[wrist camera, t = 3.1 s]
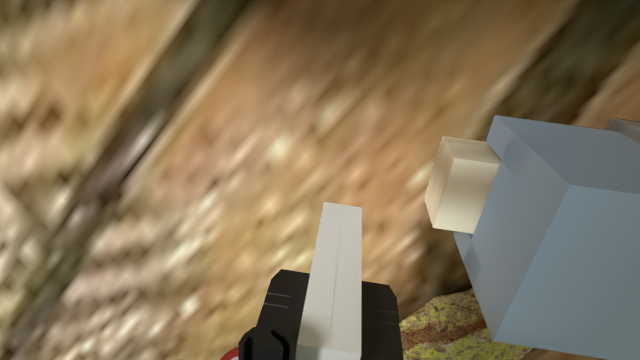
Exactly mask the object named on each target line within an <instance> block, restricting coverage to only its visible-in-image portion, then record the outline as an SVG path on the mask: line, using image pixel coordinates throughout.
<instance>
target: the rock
mask: <svg viewBox="0 0 640 360" xmlns="http://www.w3.org/2000/svg"><path fill="white" fill-rule="evenodd" d="M399 326H400V332H401V341H402V350H403V358H404V360H520V359H521V358H522V357H523V356H524V355H525V354H527V353H528V352H529V351H530V350H531V349H532V348H533V347H527V346H521V345H514V344H508V343H502V342H496V341H493V340H492V338H491V335H490V332H489V330H488V327H487V324H486V322H485V319H484V316H483V314H482V311H481V308H480V306H479V303H478V300H477V298H476V295H475V292H474V289H473V288H471V289H469V290H467V291H464V292H458V293H454V294H449V295H440V296H437V297H435V298H433V299H432V300H431V301H429V302H427V303H426V304H424V306H423V307H421V308H420V309H419V310H417V311H416V312H414V313H413V314H412V315H409V316H408V317H407V318H406V319H404V320H403V321H402V322H401V323H400V324H399Z"/></svg>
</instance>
